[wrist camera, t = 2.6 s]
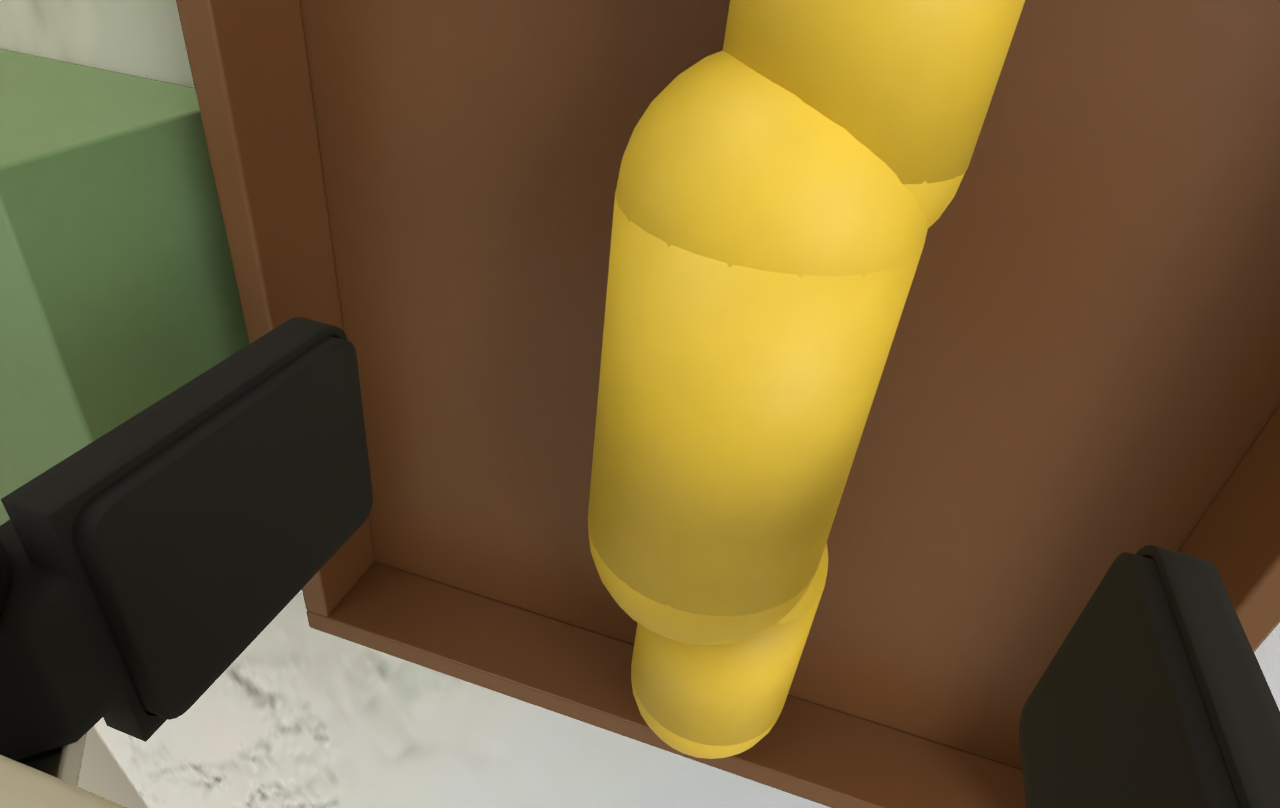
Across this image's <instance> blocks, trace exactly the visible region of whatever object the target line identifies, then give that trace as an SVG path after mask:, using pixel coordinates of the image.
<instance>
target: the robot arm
mask: <svg viewBox="0 0 1280 808" xmlns="http://www.w3.org/2000/svg"><path fill="white" fill-rule="evenodd" d="M1 501H2V503H3V505H4V508H5V510H6V512H7V514H8V516H9V518H10V520H8V521H7V522H5V523H4V524H2V525H1V526H0V808H125V807H123V806H121V805H118V804H116V803H114V802H112V801H109V800H107V799H105V798H102V797H100V796H98V795H95V794H93V793H91V792H88V791H86V790H84V789H81V788H79V787H77V785H78V780H79V774H80V768H81V763H82V756H83V752H84V746H85V741H86V735H87V732H88V731H89V730H90V729H91V728H92V727H93V726H94V725H95V724H96V723H97V722H98V721H99V720H100V719H101V718H102V717H104V720H105V722H106V724H107V726H109V727H112V728H114V729H117V730H119V731H121V732H124V733H126V734H129V735H131V736H133V737H136V738H138V739H141V740H143V741H147V740H148V739H149V738H150V737H151V736H152V734H153V733H154V732H155V731H156V730H157V729H158V728H159V727H160V726H161V725H162V724H163V723H164V722H165V721H166V720H167V719H174V718H177V717H178V716H180V715H182V714H183V713H185V712H186V711H187V710H188V709H189V708H190V707H191V706H192V705H193V704H194V703H195V702H196V701H197V700H198V699H199V697H200V696H201V695H202V694H203V693H204V692H205V691H206V690H207V689H208V688H209V687H210V686H211V685H212V684H213V683H214V682H215V680H216V679H217V678H218V677H219V676H220V675H221V674H222V673H223V672H224V671H225V670H226V669H227V668H228V667H229V666H230V665H231V663H232V662H233V661H234V660H235V659H236V658H237V657H238V656H239V655H240V654H241V653H242V652H243V651H244V650H245V649H246V648H247V646H248V645H249V644H250V643H251V642H252V641H253V640H254V639H255V638H256V637H257V636H258V635H259V634H260V633H261V632H262V631H263V629H264V628H265V627H266V626H267V625H268V624H269V623H270V622H271V621H272V620H273V619H274V618H275V617H276V616H277V615H278V614H279V612H280V611H281V610H282V609H283V608H284V607H285V606H286V605H287V604H288V603H289V602H290V601H291V600H292V599H293V598H294V597H295V595H296V594H297V593H298V592H299V591H300V590H301V589H302V588H303V587H304V586H305V585H306V584H307V583H308V582H309V581H310V580H311V578H312V577H313V576H314V575H315V574H316V573H317V572H318V571H319V570H320V569H321V568H322V567H323V566H324V565H325V564H326V563H327V561H328V560H329V559H330V558H331V557H332V556H333V555H334V554H335V553H336V552H337V551H338V550H339V549H340V548H341V547H342V546H343V544H344V543H345V542H346V541H347V540H348V539H349V538H350V537H351V536H352V535H353V534H354V533H355V532H356V531H357V530H358V529H359V527H360V526H361V525H362V524H363V523H364V522H365V520H366V519H367V517H368V515H369V513H370V511H371V508H372V503H373V492H372V483H371V474H370V466H369V457H368V449H367V440H366V432H365V423H364V415H363V406H362V398H361V389H360V381H359V372H358V363H357V355H356V350H355V347H354V345H353V344H352V343H351V342H349V341H348V340H347V336H346V334H345V333H344V331H343V330H342V329H340V328H339V327H337V326H333V325H330V324H326V323H322V322H318V321H315V320H311V319H307V318H304V317H294V318H292V319H289V320H287V321H286V322H284V323H283V324H281V325H279V326H278V327H276V328H275V329H273V330H271V331H270V332H268V333H267V334H265V335H263V336H262V337H260V338H259V339H257V340H255V341H254V342H252V343H251V344H249V345H247V346H246V347H244V348H243V349H241V350H239V351H238V352H236V353H234V354H233V355H231V356H230V357H228V358H226V359H225V360H223V361H222V362H220V363H218V364H217V365H215V366H214V367H212V368H210V369H209V370H207V371H206V372H204V373H202V374H201V375H199V376H198V377H196V378H194V379H193V380H191V381H190V382H188V383H186V384H185V385H183V386H182V387H180V388H178V389H177V390H175V391H173V392H172V393H170V394H169V395H167V396H165V397H164V398H162V399H161V400H159V401H157V402H156V403H154V404H153V405H151V406H149V407H148V408H146V409H145V410H143V411H141V412H140V413H138V414H137V415H135V416H133V417H132V418H130V419H129V420H127V421H125V422H124V423H122V424H121V425H119V426H117V427H116V428H114V429H113V430H111V431H109V432H108V433H106V434H104V435H103V436H101V437H100V438H98V439H96V440H95V441H93V442H92V443H90V444H88V445H87V446H85V447H84V448H82V449H80V450H79V451H77V452H76V453H74V454H72V455H71V456H69V457H68V458H66V459H64V460H63V461H61V462H60V463H58V464H56V465H55V466H53V467H52V468H50V469H48V470H47V471H45V472H43V473H42V474H40V475H39V476H37V477H35V478H34V479H32V480H31V481H29V482H27V483H26V484H24V485H23V486H21V487H19V488H18V489H16V490H15V491H13V492H11V493H10V494H8V495H7V496H5V497H3V498H2V499H1ZM1019 740H1020V750H1021V759H1022V768H1023V778H1024V787H1025V797H1026V806H1027V808H1280V711H1279V709H1278V707H1277V704H1276V702H1275V700H1274V698H1273V695H1272V693H1271V691H1270V688H1269V686H1268V684H1267V682H1266V679H1265V677H1264V675H1263V672H1262V670H1261V668H1260V666H1259V663H1258V661H1257V659H1256V656H1255V654H1254V652H1253V650H1252V647H1251V645H1250V643H1249V640H1248V638H1247V636H1246V634H1245V631H1244V629H1243V627H1242V625H1241V622H1240V620H1239V618H1238V615H1237V613H1236V611H1235V609H1234V606H1233V604H1232V602H1231V599H1230V597H1229V595H1228V593H1227V590H1226V588H1225V586H1224V583H1223V581H1222V579H1221V577H1220V574H1219V572H1218V570H1217V568H1216V567H1215V565H1214V564H1213V563H1212V562H1210V561H1208V560H1206V559H1202V558H1199V557H1195V556H1191V555H1187V554H1184V553H1180V552H1176V551H1173V550H1169V549H1165V548H1161V547H1158V546H1154V545H1145V546H1144V547H1142V548H1141V549H1139V550H1138V552H1137V553H1136V554H1131V553H1128V552H1124V553H1121V554H1120V555H1118V556H1117V558H1116V559H1115V560H1114V562H1113V563H1112V565H1111V566H1110V568H1109V570H1108V571H1107V573H1106V574H1105V576H1104V578H1103V579H1102V581H1101V582H1100V584H1099V586H1098V587H1097V589H1096V590H1095V592H1094V594H1093V595H1092V597H1091V598H1090V600H1089V602H1088V603H1087V605H1086V606H1085V608H1084V610H1083V611H1082V613H1081V614H1080V616H1079V618H1078V619H1077V621H1076V622H1075V624H1074V626H1073V627H1072V629H1071V630H1070V632H1069V634H1068V635H1067V637H1066V638H1065V640H1064V642H1063V643H1062V645H1061V646H1060V648H1059V650H1058V651H1057V653H1056V655H1055V656H1054V658H1053V659H1052V661H1051V663H1050V664H1049V666H1048V667H1047V669H1046V671H1045V672H1044V674H1043V675H1042V677H1041V679H1040V680H1039V682H1038V683H1037V685H1036V687H1035V688H1034V690H1033V691H1032V693H1031V695H1030V696H1029V698H1028V699H1027V701H1026V703H1025V705H1024V707H1023V710H1022V713H1021V718H1020V724H1019Z"/></svg>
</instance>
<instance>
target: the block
mask: <svg viewBox="0 0 1280 808" xmlns="http://www.w3.org/2000/svg"><path fill="white" fill-rule="evenodd" d="M249 344H250V343H249V338H248V334H247V329H246V324H245V320H244V315H243V310H242V306H241V301H240V296H239V292H238V287H237V282H236V278H235V273H234V268H233V263H232V259H231V254H230V249H229V245H228V240H227V235H226V231H225V226H224V221H223V217H222V212H221V207H220V203H219V198H218V193H217V189H216V184H215V179H214V175H213V170H212V165H211V161H210V156H209V151H208V147H207V142H206V137H205V133H204V128H203V123H202V119H201V114H200V109H199V105H198V100H197V95H196V91H195V88H191V87H186V86H181V85H176V84H171V83H166V82H161V81H156V80H151V79H146V78H141V77H136V76H131V75H126V74H121V73H116V72H111V71H106V70H101V69H96V68H91V67H86V66H81V65H76V64H71V63H66V62H61V61H56V60H51V59H46V58H41V57H36V56H31V55H27V54H22V53H17V52H12V51H7V50H2V49H0V526H1V525H2V524H4V523H5V522H7V521H8V520H10V518H9V516H8V514H7V512H6V510H5V508H4V505H3V503H2V501H1V499H2V498H3V497H5V496H7V495H8V494H10V493H11V492H13V491H15V490H16V489H18V488H19V487H21V486H23V485H24V484H26V483H27V482H29V481H31V480H32V479H34V478H35V477H37V476H39V475H40V474H42V473H43V472H45V471H47V470H48V469H50V468H52V467H53V466H55V465H56V464H58V463H60V462H61V461H63V460H64V459H66V458H68V457H69V456H71V455H72V454H74V453H76V452H77V451H79V450H80V449H82V448H84V447H85V446H87V445H88V444H90V443H92V442H93V441H95V440H96V439H98V438H100V437H101V436H103V435H104V434H106V433H108V432H109V431H111V430H113V429H114V428H116V427H117V426H119V425H121V424H122V423H124V422H125V421H127V420H129V419H130V418H132V417H133V416H135V415H137V414H138V413H140V412H141V411H143V410H145V409H146V408H148V407H149V406H151V405H153V404H154V403H156V402H157V401H159V400H161V399H162V398H164V397H165V396H167V395H169V394H170V393H172V392H173V391H175V390H177V389H178V388H180V387H182V386H183V385H185V384H186V383H188V382H190V381H191V380H193V379H194V378H196V377H198V376H199V375H201V374H202V373H204V372H206V371H207V370H209V369H210V368H212V367H214V366H215V365H217V364H218V363H220V362H222V361H223V360H225V359H226V358H228V357H230V356H231V355H233V354H234V353H236V352H238V351H239V350H241V349H243V348H244V347H246V346H247V345H249Z"/></svg>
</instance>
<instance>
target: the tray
mask: <svg viewBox="0 0 1280 808" xmlns="http://www.w3.org/2000/svg"><path fill="white" fill-rule="evenodd" d="M176 2H177V7H178V11H179V16H180V21H181V25H182V30H183V35H184V39H185V44H186V49H187V53H188V58H189V63H190V67H191V72H192V77H193V81H194V86H195V91H196V95H197V100H198V105H199V109H200V114H201V119H202V123H203V128H204V133H205V137H206V142H207V147H208V151H209V156H210V161H211V165H212V170H213V175H214V179H215V184H216V189H217V193H218V198H219V203H220V207H221V212H222V217H223V221H224V226H225V231H226V235H227V240H228V245H229V249H230V254H231V259H232V263H233V268H234V273H235V278H236V282H237V287H238V292H239V296H240V301H241V306H242V310H243V315H244V320H245V324H246V329H247V334H248V338H249V343H250V344H251V343H252V342H254V341H255V340H257V339H259V338H260V337H262V336H263V335H265V334H267V333H268V332H270V331H271V330H273V329H275V328H276V327H278V326H279V325H281V324H283V323H284V322H286V321H287V320H289V319H292V318H294V317H304V318H307V319H311V320H315V321H318V322H322V323H326V324H330V325H333V326H337V327H339V328H340V329H342V330H343V331H344V333H345V334H346V336H347V340H348V341H349V342H351V343H352V344H353V345H354V347H355V350H356V355H357V363H358V372H359V381H360V389H361V398H362V406H363V415H364V423H365V432H366V440H367V449H368V457H369V466H370V474H371V483H372V492H373V503H372V508H371V511H370V513H369V515H368V517H367V519H366V520H365V522H364V523H363V524H362V525H361V526H360V527H359V529H358V530H357V531H356V532H355V533H354V534H353V535H352V536H351V537H350V538H349V539H348V540H347V541H346V542H345V543H344V544H343V546H342V547H341V548H340V549H339V550H338V551H337V552H336V553H335V554H334V555H333V556H332V557H331V558H330V559H329V560H328V561H327V563H326V564H325V565H324V566H323V567H322V568H321V569H320V570H319V571H318V572H317V573H316V574H315V575H314V576H313V577H312V578H311V580H310V581H309V582H308V583H307V584H306V585H305V586H304V587H303V588H302V591H303V595H304V600H305V605H306V609H307V616H308V621H309V625H310V627H311V628H314V629H317V630H320V631H323V632H326V633H329V634H332V635H335V636H337V637H340V638H343V639H346V640H349V641H352V642H355V643H358V644H361V645H363V646H366V647H369V648H372V649H375V650H378V651H381V652H384V653H387V654H389V655H392V656H395V657H398V658H401V659H404V660H407V661H410V662H413V663H415V664H418V665H421V666H424V667H427V668H430V669H433V670H436V671H438V672H441V673H444V674H447V675H450V676H453V677H456V678H459V679H462V680H464V681H467V682H470V683H473V684H476V685H479V686H482V687H485V688H488V689H490V690H493V691H496V692H499V693H502V694H505V695H508V696H511V697H514V698H516V699H519V700H522V701H525V702H528V703H531V704H534V705H537V706H540V707H542V708H545V709H548V710H551V711H554V712H557V713H560V714H563V715H566V716H568V717H571V718H574V719H577V720H580V721H583V722H586V723H589V724H592V725H594V726H597V727H600V728H603V729H606V730H609V731H612V732H615V733H618V734H620V735H623V736H626V737H629V738H632V739H635V740H638V741H641V742H644V743H646V744H649V745H652V746H655V747H658V748H661V749H664V750H667V751H670V752H672V753H675V754H678V755H681V756H684V757H687V758H690V759H693V760H696V761H698V762H701V763H704V764H707V765H710V766H713V767H716V768H719V769H722V770H724V771H727V772H730V773H733V774H736V775H739V776H742V777H745V778H748V779H750V780H753V781H756V782H759V783H762V784H765V785H768V786H771V787H774V788H776V789H779V790H782V791H785V792H788V793H791V794H794V795H797V796H800V797H802V798H805V799H808V800H811V801H814V802H817V803H820V804H823V805H826V806H828V807H831V808H1027V806H1026V797H1025V787H1024V778H1023V768H1022V759H1021V750H1020V740H1019V724H1020V718H1021V713H1022V710H1023V707H1024V705H1025V703H1026V701H1027V699H1028V698H1029V696H1030V695H1031V693H1032V691H1033V690H1034V688H1035V687H1036V685H1037V683H1038V682H1039V680H1040V679H1041V677H1042V675H1043V674H1044V672H1045V671H1046V669H1047V667H1048V666H1049V664H1050V663H1051V661H1052V659H1053V658H1054V656H1055V655H1056V653H1057V651H1058V650H1059V648H1060V646H1061V645H1062V643H1063V642H1064V640H1065V638H1066V637H1067V635H1068V634H1069V632H1070V630H1071V629H1072V627H1073V626H1074V624H1075V622H1076V621H1077V619H1078V618H1079V616H1080V614H1081V613H1082V611H1083V610H1084V608H1085V606H1086V605H1087V603H1088V602H1089V600H1090V598H1091V597H1092V595H1093V594H1094V592H1095V590H1096V589H1097V587H1098V586H1099V584H1100V582H1101V581H1102V579H1103V578H1104V576H1105V574H1106V573H1107V571H1108V570H1109V568H1110V566H1111V565H1112V563H1113V562H1114V560H1115V559H1116V558H1117V556H1118V555H1120V554H1121V553H1124V552H1128V553H1131V554H1136V553H1137V552H1138V550H1139V549H1141V548H1142V547H1144V546H1145V545H1154V546H1158V547H1161V548H1165V549H1169V550H1173V551H1176V552H1180V553H1184V554H1187V555H1191V556H1195V557H1199V558H1202V559H1206V560H1208V561H1210V562H1212V563H1213V564H1214V565H1215V567H1216V568H1217V570H1218V572H1219V574H1220V577H1221V579H1222V581H1223V583H1224V586H1225V588H1226V590H1227V593H1228V595H1229V597H1230V599H1231V602H1232V604H1233V606H1234V609H1235V611H1236V613H1237V615H1238V618H1239V620H1240V622H1241V625H1242V627H1243V629H1244V631H1245V634H1246V636H1247V638H1248V640H1249V643H1250V645H1251V647H1252V650H1253V652H1255V650H1256V649H1257V648H1258V647H1259V646H1260V645H1261V643H1262V642H1263V641H1264V640H1265V639H1266V638H1267V636H1268V635H1269V634H1270V633H1271V632H1272V631H1273V629H1274V628H1275V627H1276V626H1277V625H1278V624H1279V622H1280V0H1025V3H1024V6H1023V9H1022V12H1021V14H1020V17H1019V20H1018V23H1017V26H1016V29H1015V32H1014V35H1013V38H1012V41H1011V44H1010V47H1009V49H1008V52H1007V55H1006V58H1005V61H1004V64H1003V67H1002V70H1001V73H1000V76H999V79H998V82H997V85H996V87H995V90H994V93H993V96H992V99H991V102H990V105H989V108H988V111H987V114H986V117H985V120H984V123H983V125H982V128H981V131H980V134H979V137H978V140H977V143H976V146H975V149H974V152H973V155H972V158H971V161H970V163H969V166H968V169H967V170H966V172H965V174H964V176H963V179H962V181H961V183H960V185H959V188H958V190H957V192H956V194H955V196H954V198H953V199H952V201H951V202H950V204H949V205H948V206H947V208H946V209H945V211H944V212H943V213H942V215H941V216H940V218H939V219H938V220H937V221H936V222H935V223H934V224H933V225H932V226H930V227H929V228H928V230H927V234H926V239H925V243H924V247H923V250H922V253H921V257H920V260H919V263H918V266H917V269H916V272H915V275H914V278H913V281H912V284H911V287H910V290H909V293H908V296H907V299H906V302H905V305H904V308H903V311H902V314H901V317H900V320H899V323H898V326H897V330H896V333H895V336H894V339H893V342H892V345H891V348H890V351H889V354H888V357H887V360H886V363H885V366H884V369H883V372H882V375H881V378H880V381H879V384H878V387H877V390H876V393H875V396H874V399H873V403H872V406H871V409H870V412H869V415H868V418H867V421H866V424H865V427H864V430H863V433H862V436H861V439H860V442H859V445H858V448H857V451H856V454H855V457H854V460H853V463H852V466H851V469H850V472H849V476H848V479H847V482H846V485H845V488H844V491H843V494H842V497H841V500H840V503H839V506H838V509H837V512H836V515H835V518H834V521H833V524H832V527H831V530H830V533H829V536H828V539H827V548H828V572H827V577H826V582H825V586H824V590H823V593H822V596H821V599H820V602H819V605H818V608H817V610H816V613H815V616H814V619H813V622H812V625H811V628H810V631H809V634H808V637H807V640H806V643H805V646H804V648H803V651H802V654H801V657H800V660H799V663H798V666H797V669H796V672H795V675H794V678H793V681H792V684H791V686H790V689H789V692H788V695H787V698H786V701H785V704H784V707H783V709H782V711H781V714H780V716H779V717H778V719H777V721H776V723H775V724H774V726H773V727H772V729H771V730H770V731H769V733H768V734H767V735H766V736H764V737H763V738H762V739H761V740H760V741H759V742H758V743H756V744H755V745H754V746H753V747H751V748H749V749H748V750H746V751H744V752H742V753H740V754H736V755H733V756H729V757H725V758H715V759H706V758H697V757H693V756H690V755H687V754H684V753H682V752H680V751H678V750H676V749H674V748H672V747H670V746H669V745H668V744H666V743H665V742H664V741H662V740H661V739H660V738H659V737H658V736H657V735H656V734H655V733H654V732H653V731H652V730H651V728H650V727H649V726H648V725H647V723H646V722H645V720H644V719H643V717H642V715H641V713H640V711H639V708H638V706H637V703H636V700H635V697H634V695H633V689H632V682H631V664H632V656H633V649H634V643H635V636H636V629H637V622H636V621H635V620H633V619H632V618H631V617H630V616H629V615H628V614H627V613H626V612H625V611H624V610H623V609H622V608H621V607H620V606H619V605H618V604H617V602H616V601H615V600H614V599H613V597H612V596H611V594H610V593H609V591H608V590H607V589H606V587H605V586H604V584H603V583H602V581H601V578H600V576H599V573H598V571H597V568H596V566H595V563H594V560H593V557H592V554H591V550H590V542H589V532H588V509H589V497H590V485H591V473H592V461H593V449H594V437H595V426H596V414H597V402H598V390H599V378H600V366H601V354H602V342H603V330H604V319H605V307H606V295H607V283H608V271H609V259H610V247H611V235H612V223H613V212H614V200H615V191H616V188H617V182H618V177H619V172H620V166H621V162H622V158H623V155H624V152H625V150H626V147H627V145H628V142H629V140H630V138H631V135H632V133H633V130H634V128H635V126H636V125H637V123H638V122H639V120H640V119H641V117H642V116H643V114H644V113H645V111H646V110H647V108H648V107H649V105H650V104H651V102H652V101H653V100H654V99H655V98H656V97H657V96H658V95H659V94H660V93H661V92H662V91H663V90H664V89H665V88H666V87H667V86H668V85H669V84H670V83H671V82H672V81H673V80H674V79H675V78H676V77H677V76H678V75H679V74H681V73H682V72H684V71H685V70H687V69H688V68H690V67H691V66H693V65H694V64H696V63H697V62H699V61H700V60H702V59H703V58H705V57H707V56H710V55H712V54H715V53H717V52H720V51H722V50H723V45H724V38H725V31H726V24H727V18H728V11H729V4H730V0H176Z"/></svg>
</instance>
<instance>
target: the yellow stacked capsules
mask: <svg viewBox="0 0 1280 808" xmlns="http://www.w3.org/2000/svg"><path fill="white" fill-rule="evenodd" d="M1024 3H1025V0H730V4H729V11H728V18H727V24H726V31H725V38H724V45H723V50H722V51H720V52H717V53H715V54H712V55H710V56H707V57H705V58H703V59H702V60H700V61H699V62H697V63H696V64H694V65H693V66H691V67H690V68H688V69H687V70H685V71H684V72H682V73H681V74H679V75H678V76H677V77H676V78H675V79H674V80H673V81H672V82H671V83H670V84H669V85H668V86H667V87H666V88H665V89H664V90H663V91H662V92H661V93H660V94H659V95H658V96H657V97H656V98H655V99H654V100H653V101H652V102H651V104H650V105H649V107H648V108H647V110H646V111H645V113H644V114H643V116H642V117H641V119H640V120H639V122H638V123H637V125H636V126H635V128H634V130H633V133H632V135H631V138H630V140H629V142H628V145H627V147H626V150H625V152H624V155H623V158H622V162H621V166H620V172H619V177H618V182H617V188H616V191H615V200H614V212H613V223H612V235H611V247H610V259H609V271H608V283H607V295H606V307H605V319H604V330H603V342H602V354H601V366H600V378H599V390H598V402H597V414H596V426H595V437H594V449H593V461H592V473H591V485H590V497H589V509H588V532H589V542H590V550H591V554H592V557H593V560H594V563H595V566H596V568H597V571H598V573H599V576H600V578H601V581H602V583H603V584H604V586H605V587H606V589H607V590H608V591H609V593H610V594H611V596H612V597H613V599H614V600H615V601H616V602H617V604H618V605H619V606H620V607H621V608H622V609H623V610H624V611H625V612H626V613H627V614H628V615H629V616H630V617H631V618H632V619H633V620H635V621H636V622H637V629H636V636H635V643H634V649H633V656H632V664H631V682H632V689H633V695H634V697H635V700H636V703H637V706H638V708H639V711H640V713H641V715H642V717H643V719H644V720H645V722H646V723H647V725H648V726H649V727H650V728H651V730H652V731H653V732H654V733H655V734H656V735H657V736H658V737H659V738H660V739H661V740H662V741H664V742H665V743H666V744H668V745H669V746H670V747H672V748H674V749H676V750H678V751H680V752H682V753H684V754H687V755H690V756H693V757H697V758H706V759H715V758H725V757H729V756H733V755H736V754H740V753H742V752H744V751H746V750H748V749H749V748H751V747H753V746H754V745H755V744H756V743H758V742H759V741H760V740H761V739H762V738H763V737H764V736H766V735H767V734H768V733H769V731H770V730H771V729H772V727H773V726H774V724H775V723H776V721H777V719H778V717H779V716H780V714H781V711H782V709H783V707H784V704H785V701H786V698H787V695H788V692H789V689H790V686H791V684H792V681H793V678H794V675H795V672H796V669H797V666H798V663H799V660H800V657H801V654H802V651H803V648H804V646H805V643H806V640H807V637H808V634H809V631H810V628H811V625H812V622H813V619H814V616H815V613H816V610H817V608H818V605H819V602H820V599H821V596H822V593H823V590H824V586H825V582H826V577H827V572H828V548H827V539H828V536H829V533H830V530H831V527H832V524H833V521H834V518H835V515H836V512H837V509H838V506H839V503H840V500H841V497H842V494H843V491H844V488H845V485H846V482H847V479H848V476H849V472H850V469H851V466H852V463H853V460H854V457H855V454H856V451H857V448H858V445H859V442H860V439H861V436H862V433H863V430H864V427H865V424H866V421H867V418H868V415H869V412H870V409H871V406H872V403H873V399H874V396H875V393H876V390H877V387H878V384H879V381H880V378H881V375H882V372H883V369H884V366H885V363H886V360H887V357H888V354H889V351H890V348H891V345H892V342H893V339H894V336H895V333H896V330H897V326H898V323H899V320H900V317H901V314H902V311H903V308H904V305H905V302H906V299H907V296H908V293H909V290H910V287H911V284H912V281H913V278H914V275H915V272H916V269H917V266H918V263H919V260H920V257H921V253H922V250H923V247H924V243H925V239H926V234H927V230H928V228H929V227H930V226H932V225H933V224H934V223H935V222H936V221H937V220H938V219H939V218H940V216H941V215H942V213H943V212H944V211H945V209H946V208H947V206H948V205H949V204H950V202H951V201H952V199H953V198H954V196H955V194H956V192H957V190H958V188H959V185H960V183H961V181H962V179H963V176H964V174H965V172H966V170H967V169H968V166H969V163H970V161H971V158H972V155H973V152H974V149H975V146H976V143H977V140H978V137H979V134H980V131H981V128H982V125H983V123H984V120H985V117H986V114H987V111H988V108H989V105H990V102H991V99H992V96H993V93H994V90H995V87H996V85H997V82H998V79H999V76H1000V73H1001V70H1002V67H1003V64H1004V61H1005V58H1006V55H1007V52H1008V49H1009V47H1010V44H1011V41H1012V38H1013V35H1014V32H1015V29H1016V26H1017V23H1018V20H1019V17H1020V14H1021V12H1022V9H1023V6H1024Z"/></svg>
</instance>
